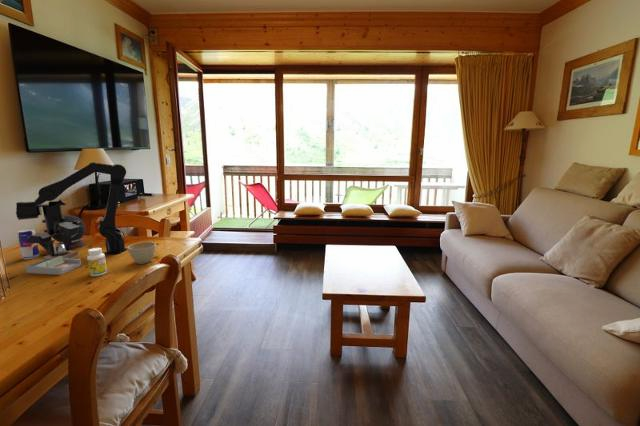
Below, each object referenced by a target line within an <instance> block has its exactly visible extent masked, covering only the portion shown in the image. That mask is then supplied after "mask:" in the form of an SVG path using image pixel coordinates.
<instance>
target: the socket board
mask: <svg viewBox="0 0 640 426" xmlns="http://www.w3.org/2000/svg"><path fill="white" fill-rule="evenodd" d="M57 257H60V256H55V252H54V256H51V255H50V254H48V255H45V256H42V260H44V259H46V258H57ZM79 257H80V256H79V251H78V250H66V255H63V256H62V258H67V259H78V258H79Z"/></svg>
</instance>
